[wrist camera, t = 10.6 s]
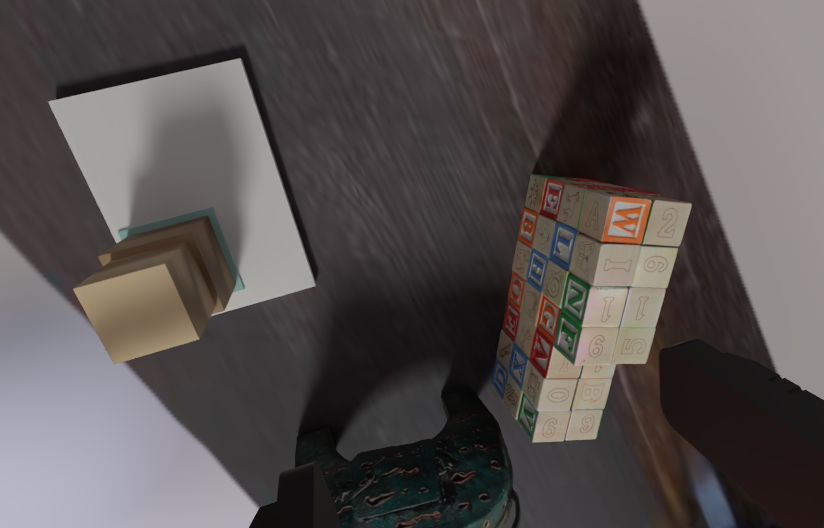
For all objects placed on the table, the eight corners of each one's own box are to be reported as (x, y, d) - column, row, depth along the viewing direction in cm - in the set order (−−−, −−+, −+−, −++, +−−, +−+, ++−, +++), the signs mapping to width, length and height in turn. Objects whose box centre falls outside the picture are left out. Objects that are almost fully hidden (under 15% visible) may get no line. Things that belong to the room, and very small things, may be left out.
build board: (55, 101, 32) (46, 101, 31) (242, 59, 33) (239, 57, 32) (162, 325, 38) (158, 332, 37) (315, 281, 40) (315, 286, 38)
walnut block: (127, 236, 34) (97, 256, 30) (207, 215, 35) (191, 231, 30) (160, 306, 36) (137, 335, 32) (235, 285, 37) (224, 310, 32)
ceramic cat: (292, 474, 45) (276, 728, 27) (273, 422, 43) (241, 659, 24) (481, 418, 48) (588, 613, 29) (472, 365, 46) (582, 541, 27)
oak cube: (110, 261, 30) (73, 288, 25) (187, 240, 30) (164, 263, 26) (143, 327, 32) (113, 364, 27) (215, 306, 32) (199, 339, 28)
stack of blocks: (545, 382, 48) (617, 466, 37) (489, 382, 47) (546, 470, 35) (592, 177, 42) (696, 202, 30) (529, 171, 40) (614, 195, 29)
